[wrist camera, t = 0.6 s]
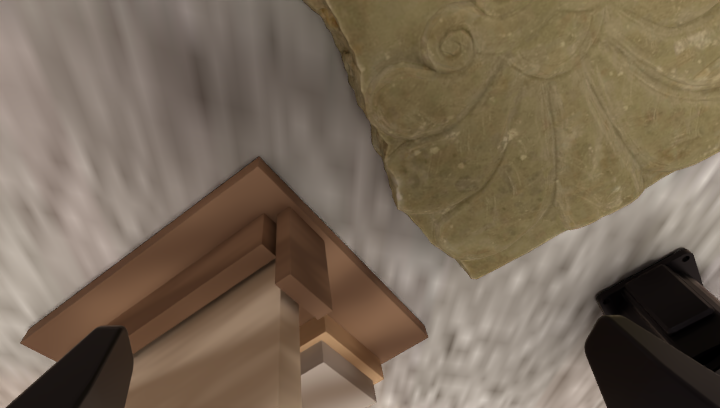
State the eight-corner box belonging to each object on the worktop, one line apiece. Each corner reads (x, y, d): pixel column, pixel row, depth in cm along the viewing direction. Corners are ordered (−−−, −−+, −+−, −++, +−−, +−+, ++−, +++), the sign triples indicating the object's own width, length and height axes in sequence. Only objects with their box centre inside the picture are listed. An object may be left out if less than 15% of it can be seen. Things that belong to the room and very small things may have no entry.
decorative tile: (696, -449, 13) (817, -561, 10) (748, 89, 23) (816, 112, 20) (216, -56, 17) (201, -52, 14) (445, 261, 27) (465, 303, 24)
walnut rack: (424, 325, 29) (452, 408, 24) (233, 436, 33) (223, 528, 28) (259, 156, 21) (250, 229, 16) (29, 329, 25) (-37, 432, 20)
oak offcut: (379, 359, 29) (384, 378, 27) (263, 425, 31) (262, 447, 30) (323, 311, 26) (325, 331, 24) (199, 389, 28) (195, 411, 27)
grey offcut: (372, 380, 27) (376, 402, 26) (265, 441, 29) (264, 464, 28) (321, 340, 25) (323, 362, 24) (207, 409, 27) (203, 433, 25)
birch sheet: (296, 243, 23) (302, 427, 14) (111, 369, 26) (27, 581, 17) (281, 229, 22) (278, 413, 14) (93, 359, 25) (-3, 574, 17)
